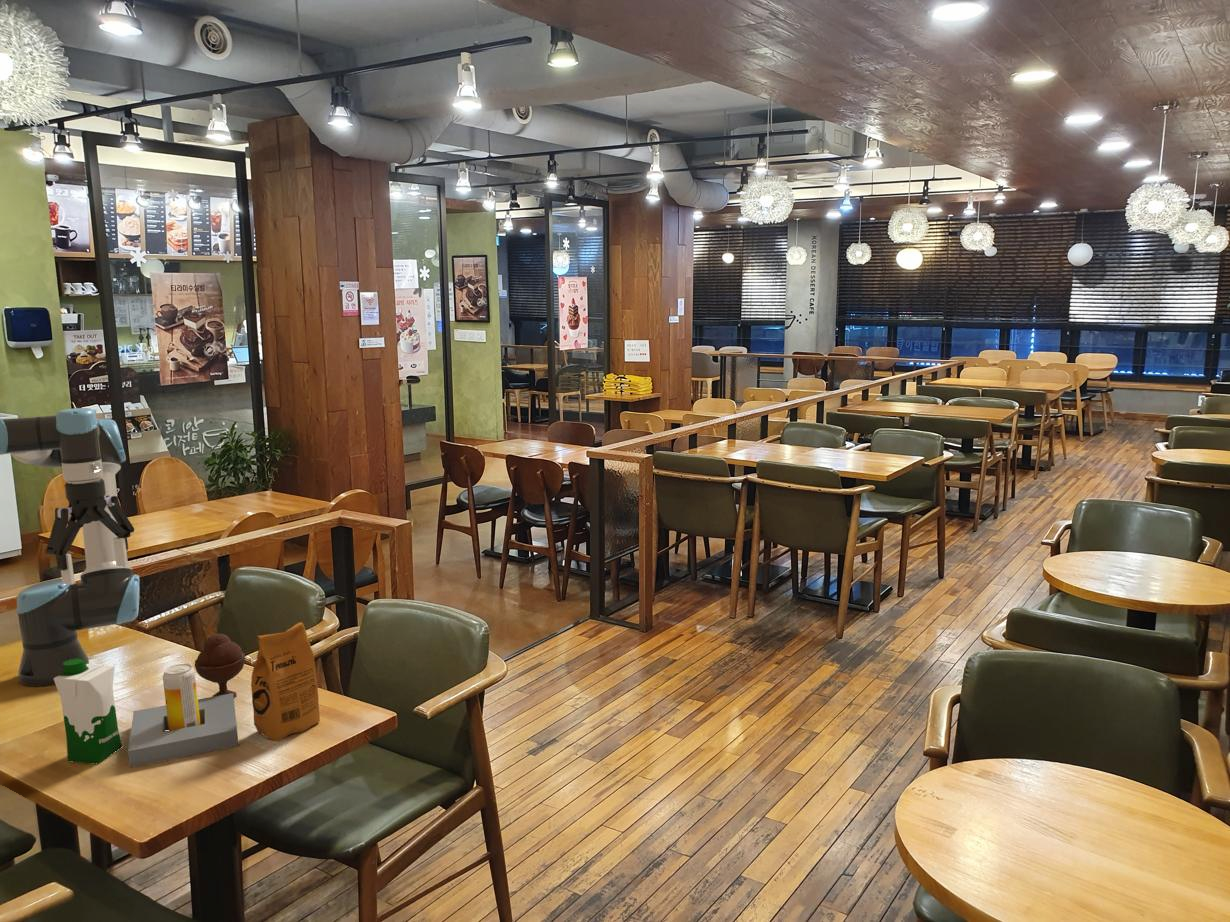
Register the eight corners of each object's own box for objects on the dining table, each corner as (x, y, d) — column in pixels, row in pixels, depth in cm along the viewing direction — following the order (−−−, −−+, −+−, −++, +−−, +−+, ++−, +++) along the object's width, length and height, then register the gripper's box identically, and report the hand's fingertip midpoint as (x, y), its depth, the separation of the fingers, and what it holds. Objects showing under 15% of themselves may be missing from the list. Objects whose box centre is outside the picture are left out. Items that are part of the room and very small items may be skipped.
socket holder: (135, 726, 201) (133, 711, 200) (234, 707, 209) (233, 693, 208) (130, 767, 183) (127, 751, 182) (238, 745, 191) (237, 729, 190)
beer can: (189, 726, 200) (181, 661, 198) (207, 732, 197) (200, 666, 195) (163, 738, 195) (155, 671, 192) (182, 744, 192) (174, 676, 189)
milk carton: (92, 743, 194) (80, 652, 190) (130, 746, 192) (118, 654, 188) (60, 763, 185) (46, 669, 182) (99, 767, 184) (86, 672, 180)
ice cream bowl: (188, 706, 210) (181, 643, 208) (219, 686, 221) (213, 626, 218) (228, 709, 208) (222, 646, 205) (258, 689, 219) (252, 628, 216)
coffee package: (248, 731, 197) (238, 633, 193) (301, 710, 206) (293, 616, 203) (272, 745, 191) (262, 643, 187) (326, 723, 200) (317, 626, 196)
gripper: (43, 492, 188) (57, 593, 191) (144, 470, 211) (155, 560, 214) (17, 491, 190) (31, 590, 194) (119, 468, 213) (130, 557, 217)
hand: (96, 574), depth 204 cm, fingers open, 13 cm apart
